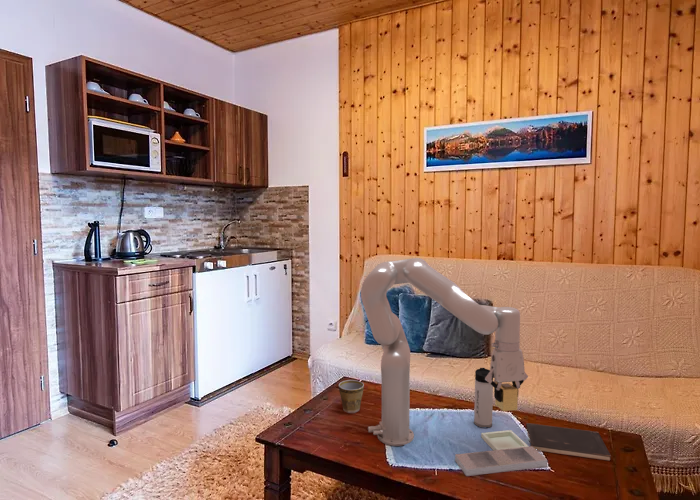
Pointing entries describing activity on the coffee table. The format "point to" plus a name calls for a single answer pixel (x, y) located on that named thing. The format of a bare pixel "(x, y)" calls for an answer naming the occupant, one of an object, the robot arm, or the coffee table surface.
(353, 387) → the ceramic cup
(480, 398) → the travel mug
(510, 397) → the block
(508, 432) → the tray
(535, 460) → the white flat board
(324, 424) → the coffee table surface
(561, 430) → the hardcover book
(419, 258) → the robot arm
